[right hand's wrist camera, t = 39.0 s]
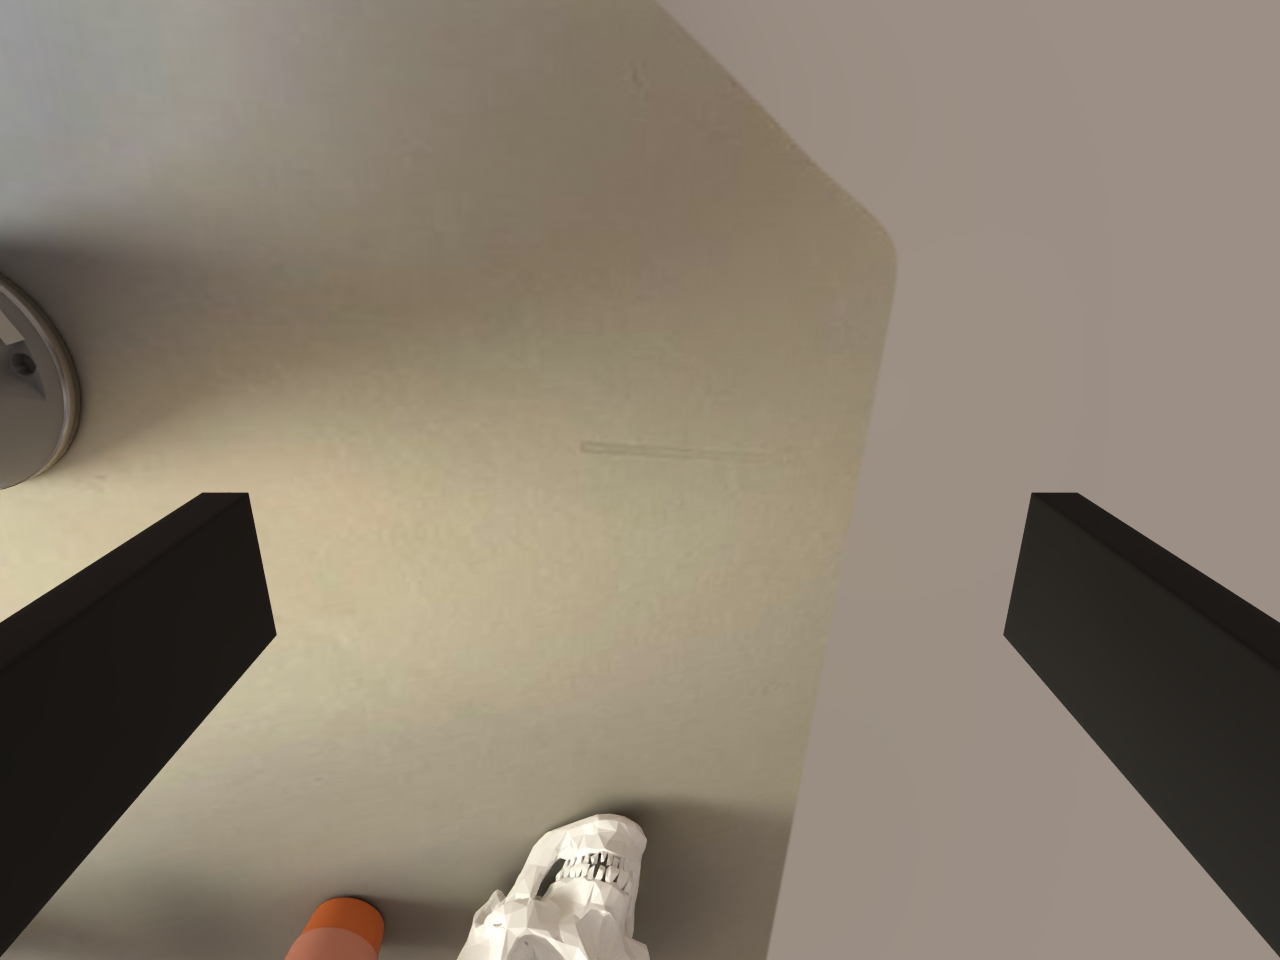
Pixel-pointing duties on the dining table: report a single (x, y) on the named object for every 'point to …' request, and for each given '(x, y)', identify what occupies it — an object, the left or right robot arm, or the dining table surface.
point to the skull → (568, 899)
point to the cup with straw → (340, 932)
